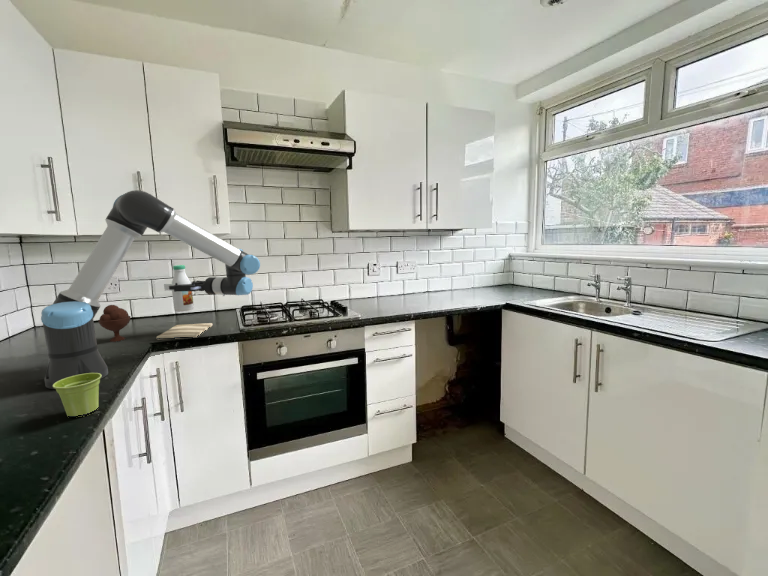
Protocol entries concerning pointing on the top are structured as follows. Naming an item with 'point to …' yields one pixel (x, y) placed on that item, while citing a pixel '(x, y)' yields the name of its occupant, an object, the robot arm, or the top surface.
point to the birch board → (185, 330)
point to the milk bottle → (181, 298)
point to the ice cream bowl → (114, 320)
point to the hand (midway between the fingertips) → (172, 285)
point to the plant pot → (79, 393)
